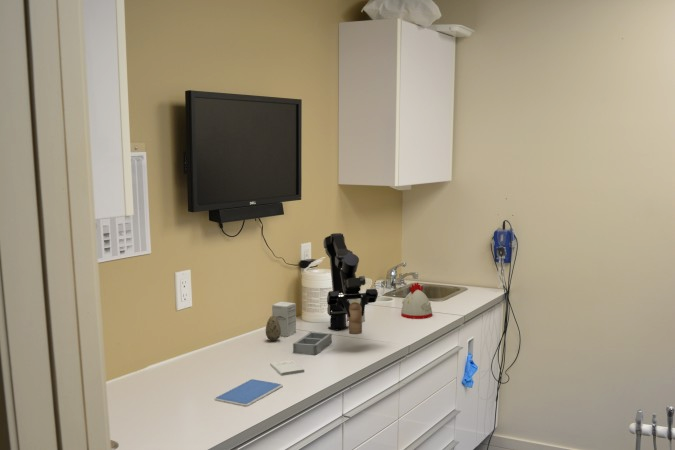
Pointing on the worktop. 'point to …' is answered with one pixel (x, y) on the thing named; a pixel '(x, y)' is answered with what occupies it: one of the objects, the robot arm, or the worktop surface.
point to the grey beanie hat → (416, 304)
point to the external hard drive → (287, 367)
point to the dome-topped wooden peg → (355, 318)
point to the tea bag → (359, 303)
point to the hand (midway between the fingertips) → (356, 316)
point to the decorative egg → (273, 329)
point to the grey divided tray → (312, 343)
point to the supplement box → (285, 317)
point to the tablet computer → (248, 392)
